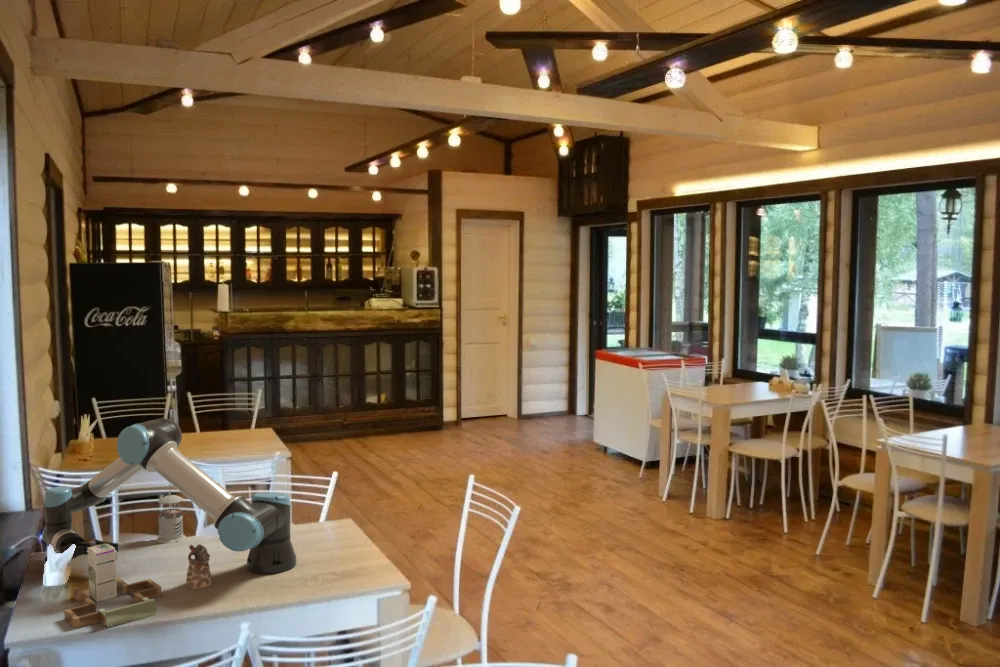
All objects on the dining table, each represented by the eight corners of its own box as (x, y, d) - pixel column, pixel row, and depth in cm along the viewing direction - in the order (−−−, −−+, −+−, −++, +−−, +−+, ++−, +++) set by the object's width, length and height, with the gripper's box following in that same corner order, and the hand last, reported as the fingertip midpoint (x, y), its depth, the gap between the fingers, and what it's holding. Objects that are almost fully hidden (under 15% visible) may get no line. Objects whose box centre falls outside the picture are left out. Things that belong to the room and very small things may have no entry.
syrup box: (117, 596, 227) (116, 546, 226) (95, 602, 222) (94, 551, 221) (109, 591, 231) (108, 542, 230) (88, 597, 226) (86, 546, 225)
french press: (151, 543, 273) (149, 471, 271) (163, 532, 284) (162, 463, 283) (180, 543, 273) (179, 471, 272) (191, 532, 285) (190, 463, 283)
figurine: (206, 589, 233) (205, 548, 232) (182, 588, 233) (181, 548, 232) (215, 580, 240) (214, 540, 239) (192, 579, 240) (191, 540, 239)
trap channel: (49, 603, 221) (49, 589, 221) (141, 580, 239) (141, 567, 238) (81, 635, 202) (80, 619, 202) (178, 607, 219) (178, 593, 219)
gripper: (111, 546, 256) (135, 563, 241) (23, 565, 239) (43, 585, 224) (110, 524, 256) (135, 539, 241) (22, 541, 239) (43, 559, 223)
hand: (91, 561), depth 232 cm, fingers open, 13 cm apart
